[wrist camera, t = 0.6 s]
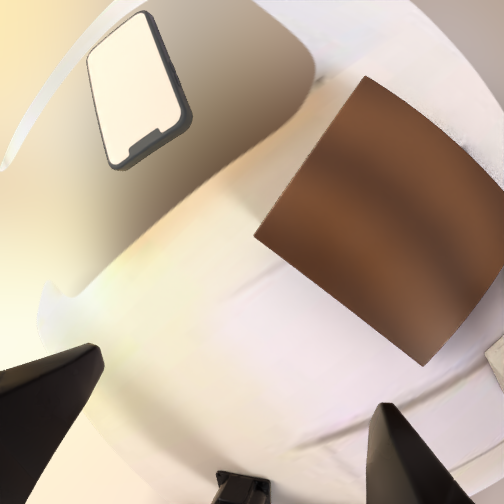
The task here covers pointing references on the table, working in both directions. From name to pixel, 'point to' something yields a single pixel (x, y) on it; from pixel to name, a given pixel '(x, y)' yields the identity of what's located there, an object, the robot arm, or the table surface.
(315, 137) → the table surface
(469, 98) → the table surface
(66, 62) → the table surface
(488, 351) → the white packaging box
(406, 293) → the block
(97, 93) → the white smartphone
